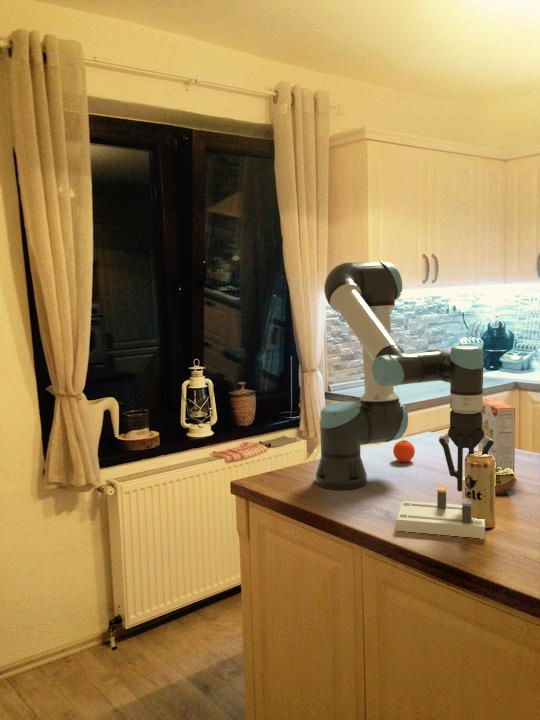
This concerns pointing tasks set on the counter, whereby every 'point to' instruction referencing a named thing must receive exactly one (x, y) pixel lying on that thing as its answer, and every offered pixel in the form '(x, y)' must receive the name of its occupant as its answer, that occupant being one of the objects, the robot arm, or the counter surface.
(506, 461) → the cracker box
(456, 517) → the white flat slotted block
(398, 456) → the clementine
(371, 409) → the robot arm
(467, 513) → the on breaker
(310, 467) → the counter surface
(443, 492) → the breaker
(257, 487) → the counter surface
